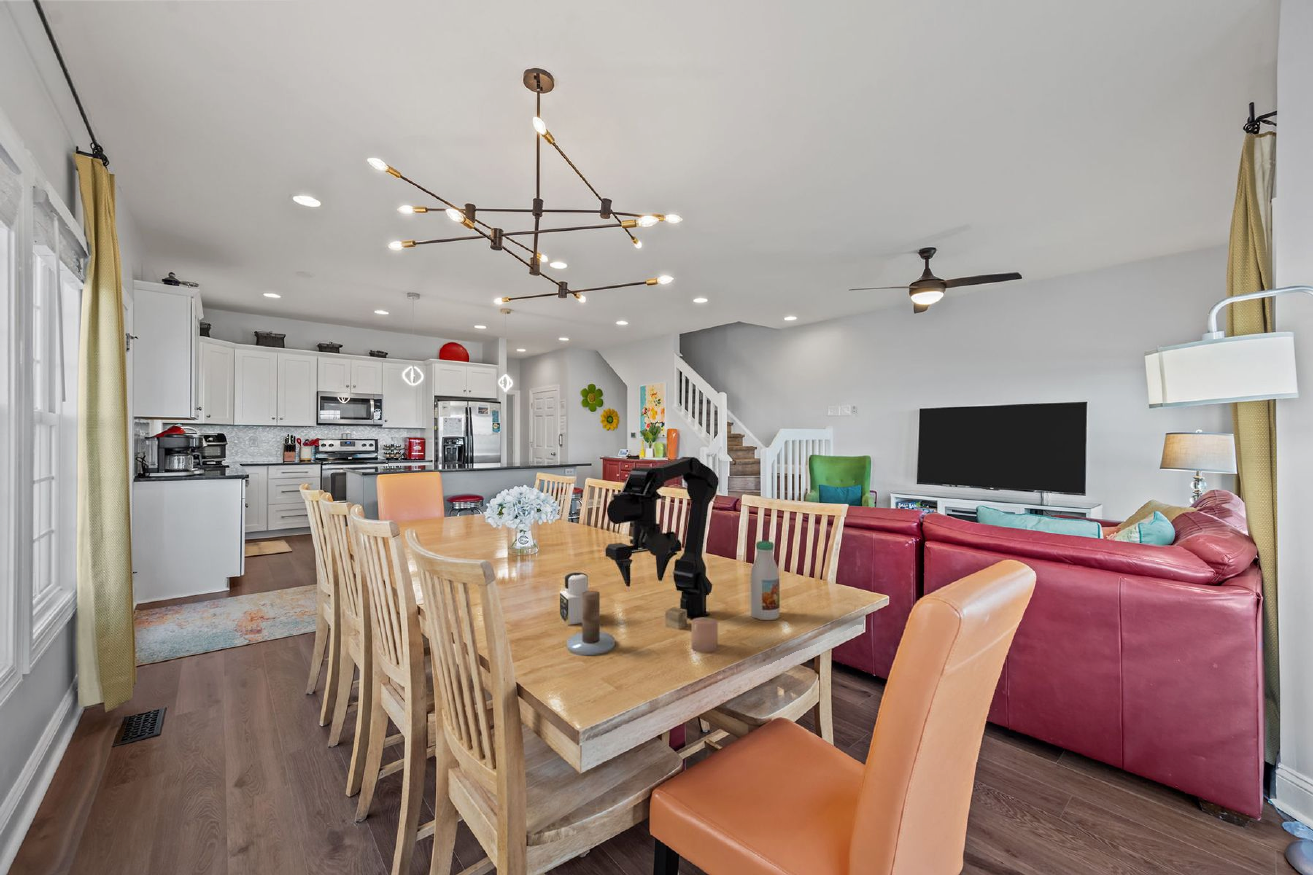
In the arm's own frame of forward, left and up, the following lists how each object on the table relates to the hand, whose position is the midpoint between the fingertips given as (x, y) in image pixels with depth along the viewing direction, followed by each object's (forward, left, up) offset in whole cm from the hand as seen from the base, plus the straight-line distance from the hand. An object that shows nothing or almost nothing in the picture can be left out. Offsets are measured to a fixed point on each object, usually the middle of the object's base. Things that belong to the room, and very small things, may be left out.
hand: (644, 583), depth 127 cm
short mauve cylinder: (-8, +13, -13) cm, 20 cm away
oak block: (-11, -2, -13) cm, 17 cm away
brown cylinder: (+13, -3, -12) cm, 18 cm away
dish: (+13, -3, -13) cm, 19 cm away
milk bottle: (-35, +6, -13) cm, 38 cm away
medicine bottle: (+8, -21, -13) cm, 26 cm away
